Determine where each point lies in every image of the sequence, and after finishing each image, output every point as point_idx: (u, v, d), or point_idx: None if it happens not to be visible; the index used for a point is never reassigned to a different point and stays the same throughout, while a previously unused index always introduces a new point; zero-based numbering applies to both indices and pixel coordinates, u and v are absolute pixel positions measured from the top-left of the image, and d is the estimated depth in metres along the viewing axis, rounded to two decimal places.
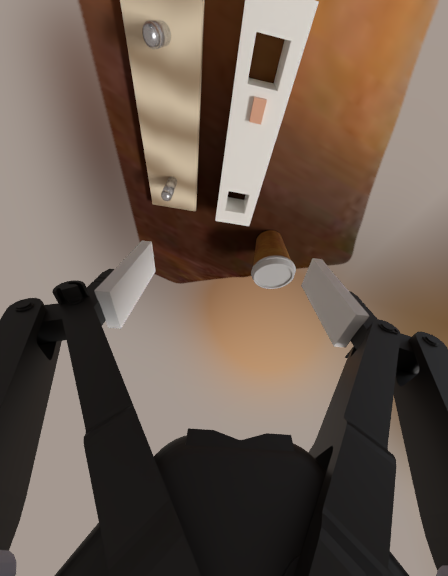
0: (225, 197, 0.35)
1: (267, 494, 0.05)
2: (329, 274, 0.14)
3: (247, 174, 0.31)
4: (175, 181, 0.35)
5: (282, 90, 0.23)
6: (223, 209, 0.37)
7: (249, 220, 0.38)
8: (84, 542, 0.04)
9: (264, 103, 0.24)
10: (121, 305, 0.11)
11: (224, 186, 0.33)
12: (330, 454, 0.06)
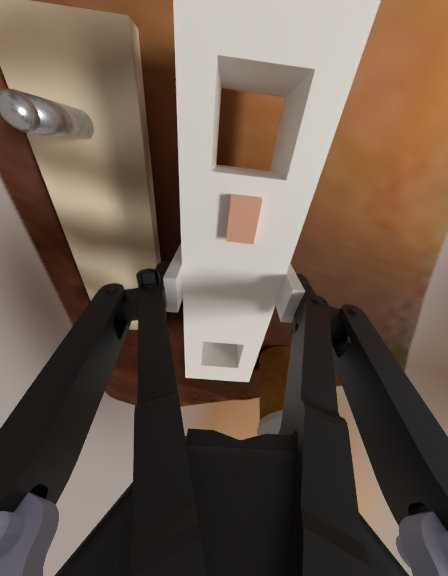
0: (197, 349, 0.18)
1: (267, 494, 0.05)
2: None
3: (236, 318, 0.15)
4: None
5: (298, 178, 0.10)
6: (197, 364, 0.19)
7: (248, 375, 0.20)
8: (84, 542, 0.04)
9: (257, 206, 0.10)
10: (179, 292, 0.13)
11: (192, 335, 0.17)
12: (296, 437, 0.06)
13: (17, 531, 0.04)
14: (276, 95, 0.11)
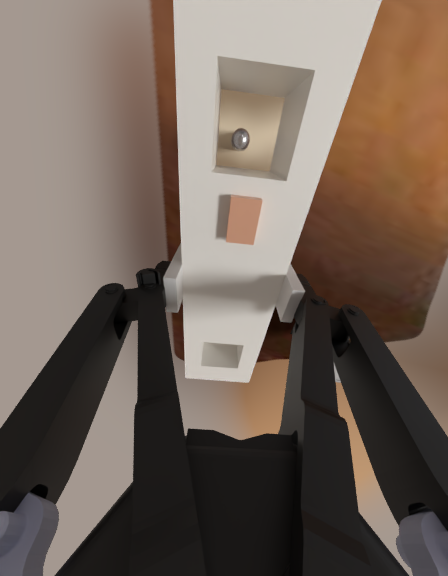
0: (197, 349, 0.18)
1: (268, 494, 0.05)
2: None
3: (236, 318, 0.15)
4: None
5: (298, 179, 0.10)
6: (197, 364, 0.19)
7: (248, 376, 0.20)
8: (84, 542, 0.04)
9: (257, 207, 0.10)
10: (179, 292, 0.13)
11: (192, 336, 0.17)
12: (296, 437, 0.06)
13: (17, 531, 0.04)
14: (276, 96, 0.11)
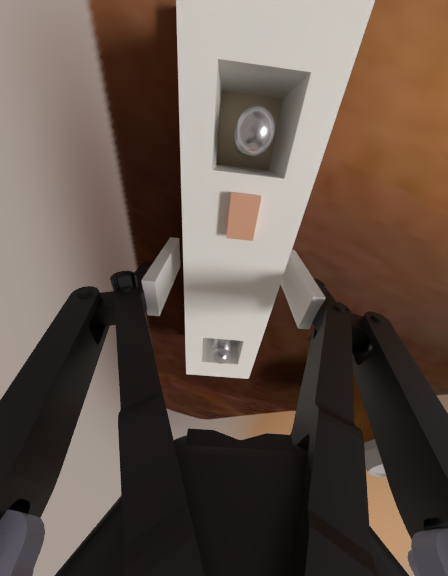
0: (198, 345, 0.18)
1: (267, 494, 0.05)
2: (298, 263, 0.14)
3: (236, 314, 0.16)
4: None
5: (295, 177, 0.10)
6: (198, 360, 0.20)
7: (248, 371, 0.21)
8: (84, 542, 0.04)
9: (256, 203, 0.10)
10: (160, 295, 0.12)
11: (193, 331, 0.17)
12: (307, 441, 0.06)
13: None
14: (274, 97, 0.12)
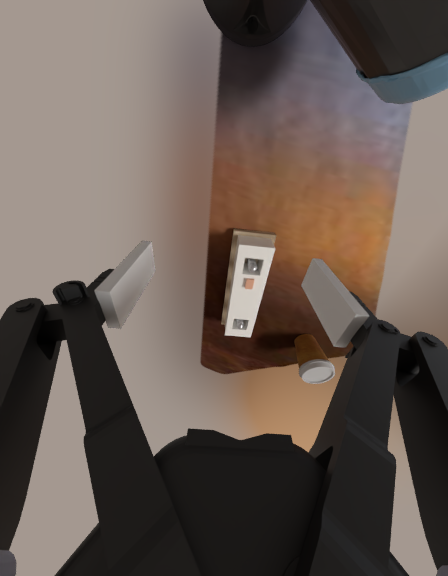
0: (231, 322, 0.49)
1: (267, 494, 0.05)
2: (329, 274, 0.14)
3: (246, 310, 0.46)
4: None
5: (262, 275, 0.40)
6: (230, 328, 0.50)
7: (250, 333, 0.51)
8: (84, 542, 0.04)
9: (253, 281, 0.40)
10: (121, 305, 0.11)
11: (230, 316, 0.47)
12: (330, 454, 0.06)
13: None
14: None
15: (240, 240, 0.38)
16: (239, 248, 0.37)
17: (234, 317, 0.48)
